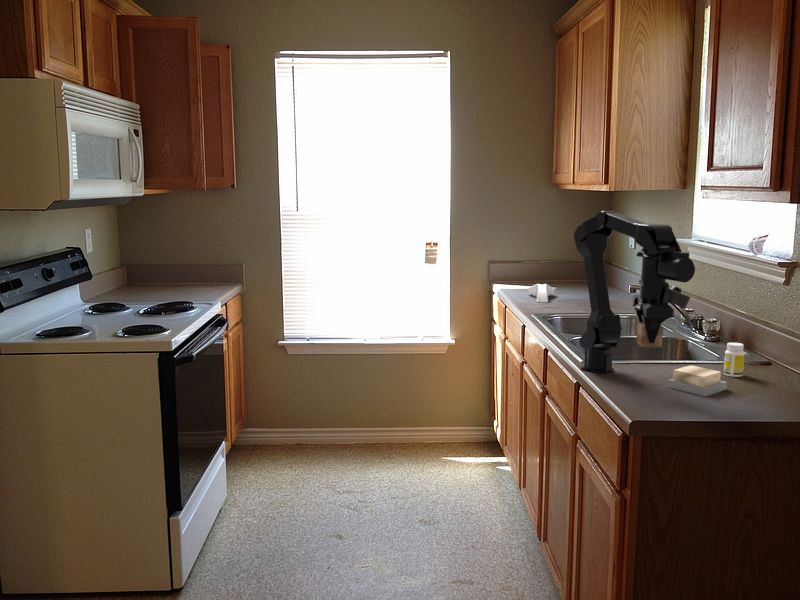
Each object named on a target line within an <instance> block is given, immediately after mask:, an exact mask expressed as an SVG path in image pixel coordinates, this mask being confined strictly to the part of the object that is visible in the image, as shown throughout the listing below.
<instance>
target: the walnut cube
mask: <svg viewBox="0 0 800 600" xmlns="http://www.w3.org/2000/svg"><path fill="white" fill-rule="evenodd" d="M663 338H664V326H663V325H661V326H660V328H659V331H658V334H657V337H656V339H655V342H654V343H650V342H649V340H648V337H647V333H646V330H645V326H644V323H640V322H639V321H638V322H637V327H636V341H635V342H636V343H637V345H638V346H639V347H640V348H663Z"/></svg>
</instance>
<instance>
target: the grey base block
mask: <svg viewBox="0 0 800 600" xmlns="http://www.w3.org/2000/svg"><path fill="white" fill-rule="evenodd" d="M667 388H669V389H674V390H678V391H682V392H685V393H691V394H694V395H699V396H702V397H703V396H704V397H708V396H711V395H714V394H717V393H720V392H724V391H726V390H727V389H728V381H724V380H721V379H720V382H717V383H714V384H711V385H708V386H704V387H701V386H697V385H693V384H689V383H684V382H680V381H676V380H673V377H672V378H669V379H668V381H667Z"/></svg>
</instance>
